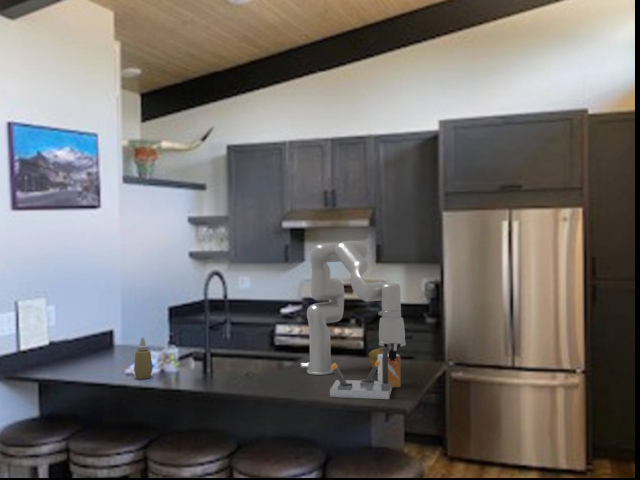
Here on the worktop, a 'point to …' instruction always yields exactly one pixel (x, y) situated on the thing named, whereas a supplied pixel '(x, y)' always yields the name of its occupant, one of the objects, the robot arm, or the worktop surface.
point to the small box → (390, 370)
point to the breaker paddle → (373, 371)
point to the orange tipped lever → (338, 374)
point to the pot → (375, 356)
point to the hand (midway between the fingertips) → (392, 360)
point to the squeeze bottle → (143, 361)
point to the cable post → (385, 370)
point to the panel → (360, 389)
